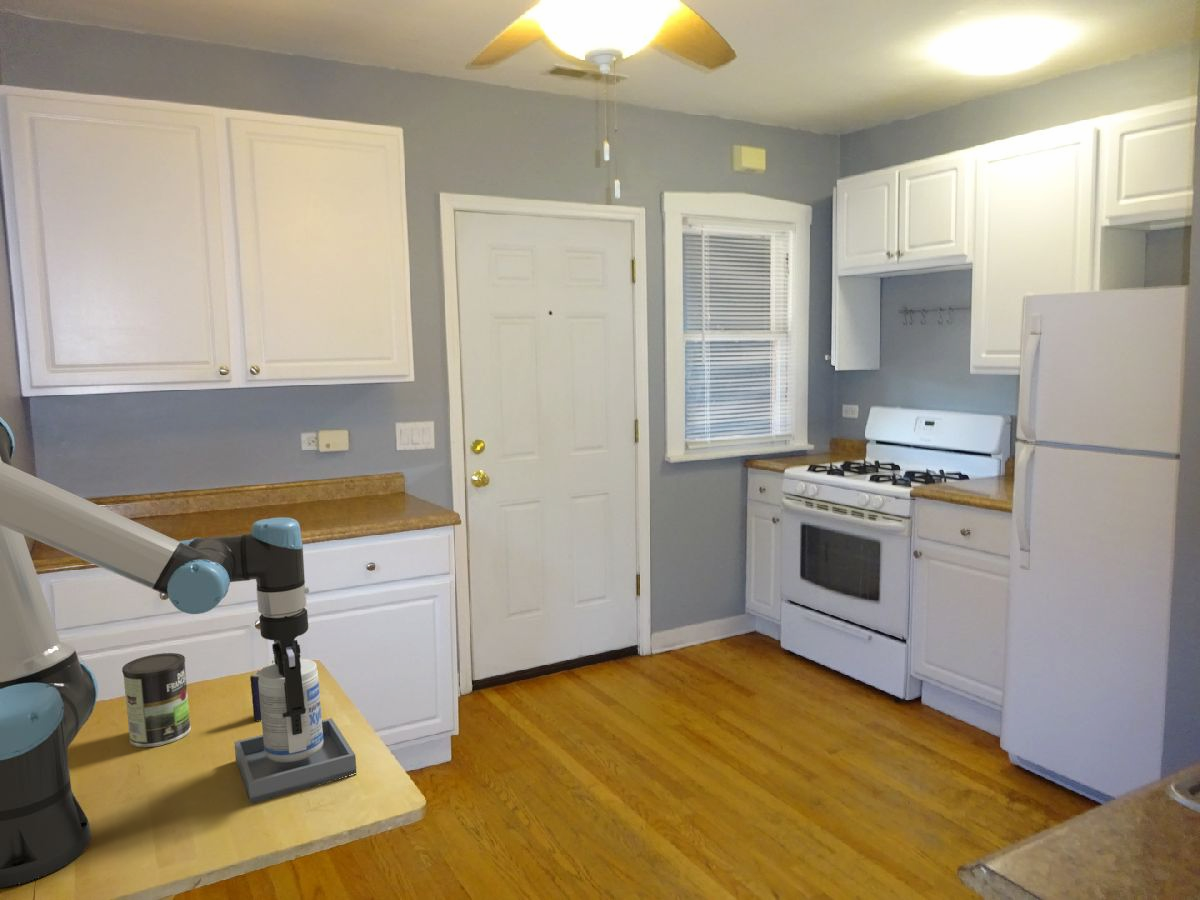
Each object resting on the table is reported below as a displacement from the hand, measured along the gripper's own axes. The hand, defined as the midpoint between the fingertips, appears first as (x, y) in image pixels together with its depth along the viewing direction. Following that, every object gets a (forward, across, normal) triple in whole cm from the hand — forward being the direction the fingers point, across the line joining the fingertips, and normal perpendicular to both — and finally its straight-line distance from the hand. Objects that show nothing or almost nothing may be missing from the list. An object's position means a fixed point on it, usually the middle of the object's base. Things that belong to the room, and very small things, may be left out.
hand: (293, 738), depth 142 cm
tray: (+5, 0, 0) cm, 5 cm away
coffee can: (+5, +26, +20) cm, 34 cm away
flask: (+6, +25, 0) cm, 25 cm away
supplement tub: (+3, 0, 0) cm, 3 cm away
